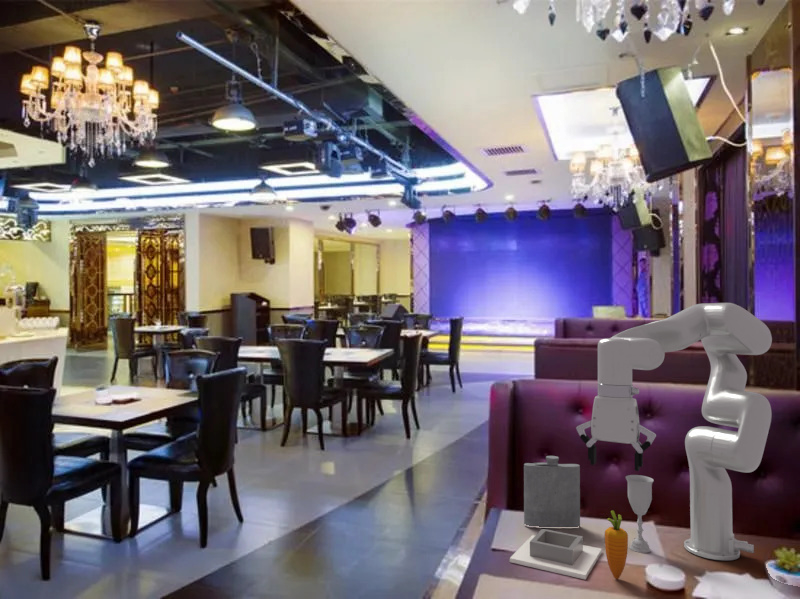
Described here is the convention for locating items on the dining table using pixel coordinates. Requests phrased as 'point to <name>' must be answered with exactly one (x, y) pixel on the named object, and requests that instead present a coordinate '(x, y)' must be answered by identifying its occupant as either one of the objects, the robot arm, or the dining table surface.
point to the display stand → (557, 554)
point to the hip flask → (552, 494)
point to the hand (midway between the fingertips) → (615, 466)
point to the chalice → (639, 506)
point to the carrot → (616, 546)
